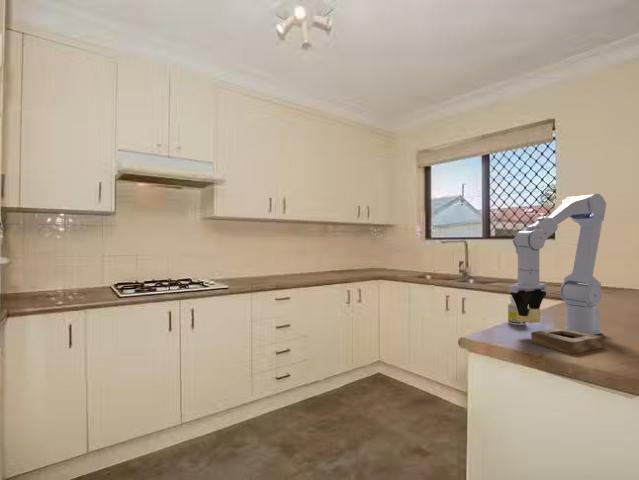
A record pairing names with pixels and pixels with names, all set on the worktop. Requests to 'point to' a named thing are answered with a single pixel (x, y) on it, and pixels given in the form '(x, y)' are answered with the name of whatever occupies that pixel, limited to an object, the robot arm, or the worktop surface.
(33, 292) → the worktop surface
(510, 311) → the supplement bottle
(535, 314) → the wooden block
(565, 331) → the brown wooden frame
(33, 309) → the worktop surface
